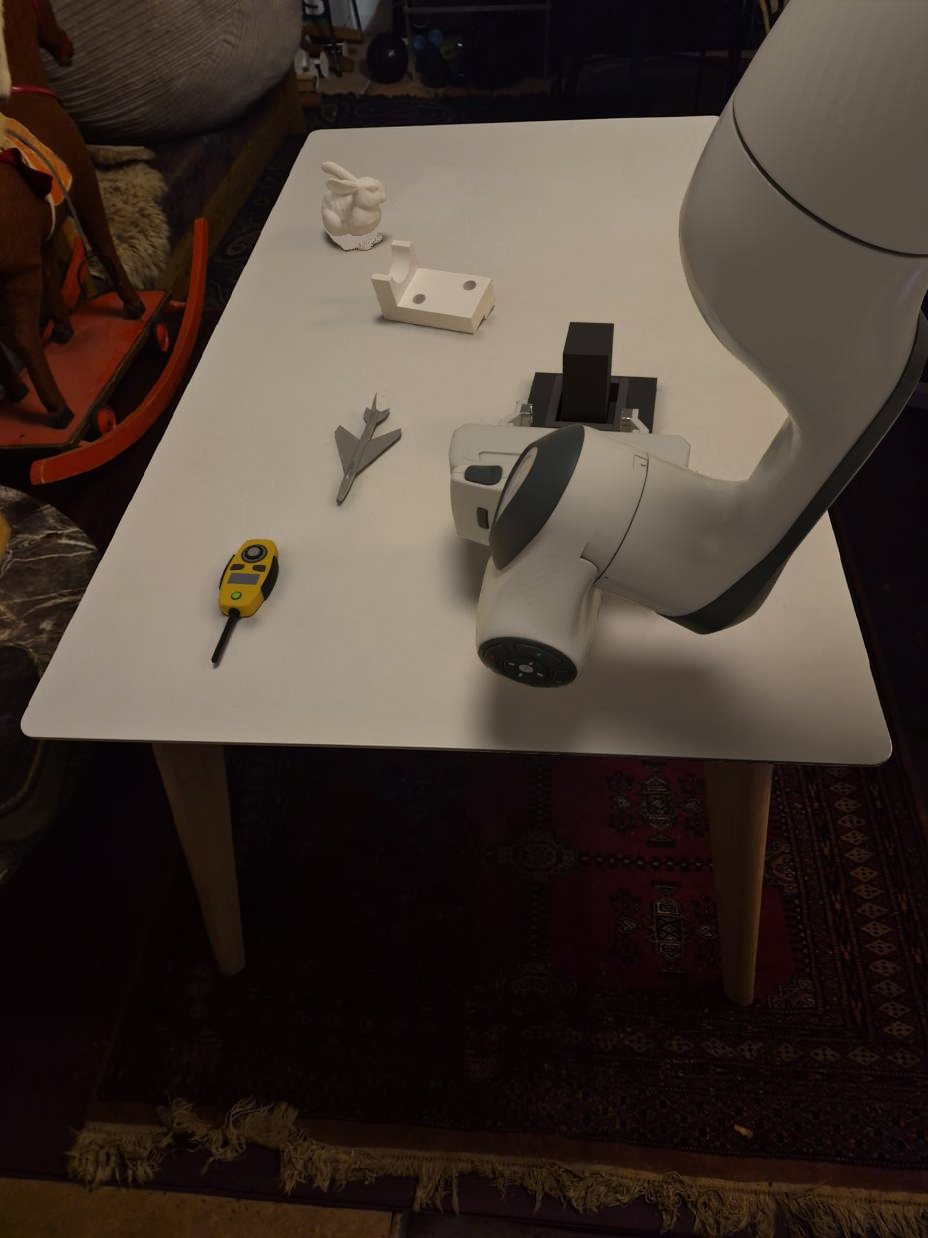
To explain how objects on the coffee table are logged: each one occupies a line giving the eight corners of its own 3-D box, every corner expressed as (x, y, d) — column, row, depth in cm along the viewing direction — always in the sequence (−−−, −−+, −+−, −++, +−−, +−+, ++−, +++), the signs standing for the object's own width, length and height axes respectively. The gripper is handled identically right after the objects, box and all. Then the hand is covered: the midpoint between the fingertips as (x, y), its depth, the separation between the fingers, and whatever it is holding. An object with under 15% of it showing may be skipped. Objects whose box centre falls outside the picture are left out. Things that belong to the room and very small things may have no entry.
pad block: (609, 406, 94) (614, 322, 87) (604, 439, 90) (608, 355, 83) (568, 404, 95) (569, 321, 88) (561, 436, 91) (562, 353, 84)
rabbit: (399, 241, 128) (388, 155, 119) (351, 266, 124) (336, 179, 115) (348, 220, 134) (333, 137, 125) (300, 243, 130) (282, 159, 121)
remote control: (284, 536, 83) (235, 656, 73) (288, 550, 85) (241, 669, 75) (236, 534, 84) (182, 652, 74) (242, 548, 85) (189, 666, 76)
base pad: (656, 386, 98) (659, 357, 95) (646, 487, 87) (649, 458, 84) (535, 380, 101) (535, 352, 98) (510, 478, 89) (508, 449, 87)
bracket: (386, 324, 114) (370, 278, 107) (407, 286, 116) (393, 239, 110) (475, 339, 110) (465, 292, 103) (495, 299, 112) (486, 251, 106)
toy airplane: (303, 504, 89) (298, 487, 87) (356, 388, 102) (353, 372, 101) (374, 509, 88) (370, 492, 86) (419, 391, 101) (416, 374, 99)
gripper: (694, 492, 64) (699, 387, 73) (430, 475, 68) (465, 377, 77) (685, 553, 69) (691, 447, 78) (439, 533, 73) (471, 434, 82)
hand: (577, 412), depth 77 cm, fingers open, 8 cm apart
